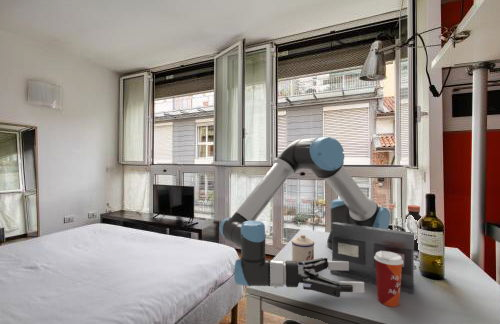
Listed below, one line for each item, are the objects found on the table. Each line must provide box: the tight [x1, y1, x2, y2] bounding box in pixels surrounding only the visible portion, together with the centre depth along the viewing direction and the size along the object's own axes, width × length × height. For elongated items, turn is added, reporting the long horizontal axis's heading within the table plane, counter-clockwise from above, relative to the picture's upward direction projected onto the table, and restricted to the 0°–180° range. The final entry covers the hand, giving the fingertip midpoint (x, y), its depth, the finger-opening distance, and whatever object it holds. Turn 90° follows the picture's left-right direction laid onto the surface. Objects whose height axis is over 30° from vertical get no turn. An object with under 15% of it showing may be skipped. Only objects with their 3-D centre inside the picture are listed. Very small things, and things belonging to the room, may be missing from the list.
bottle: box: [404, 204, 422, 252], centre depth 119 cm, size 7×7×20 cm
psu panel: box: [329, 222, 415, 294], centre depth 90 cm, size 8×26×18 cm, turn 56°
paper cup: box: [374, 251, 403, 308], centre depth 76 cm, size 8×8×14 cm
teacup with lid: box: [291, 234, 315, 264], centre depth 104 cm, size 12×9×12 cm
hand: (355, 275), depth 76 cm, fingers open, 13 cm apart
